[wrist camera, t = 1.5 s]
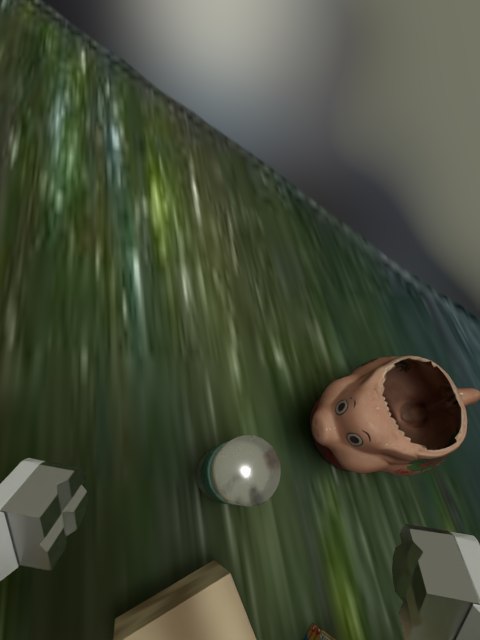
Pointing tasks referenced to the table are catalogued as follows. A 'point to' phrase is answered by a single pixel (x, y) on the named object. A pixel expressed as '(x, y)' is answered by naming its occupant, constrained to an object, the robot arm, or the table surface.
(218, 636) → the oak block
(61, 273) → the table surface
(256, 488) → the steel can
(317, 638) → the beverage box
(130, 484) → the table surface
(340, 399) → the decorative planter
